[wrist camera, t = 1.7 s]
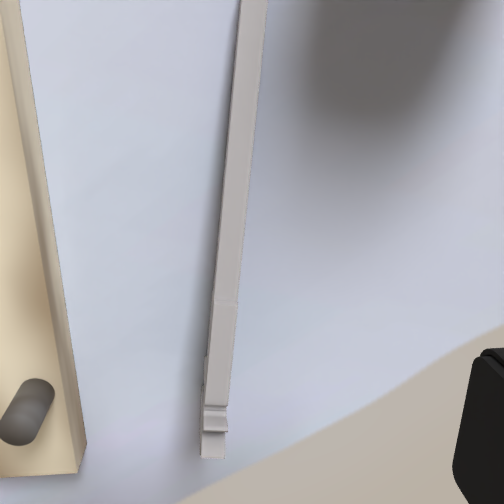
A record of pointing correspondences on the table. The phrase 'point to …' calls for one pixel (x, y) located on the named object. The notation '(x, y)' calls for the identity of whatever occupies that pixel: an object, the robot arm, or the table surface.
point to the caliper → (232, 227)
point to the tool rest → (31, 288)
